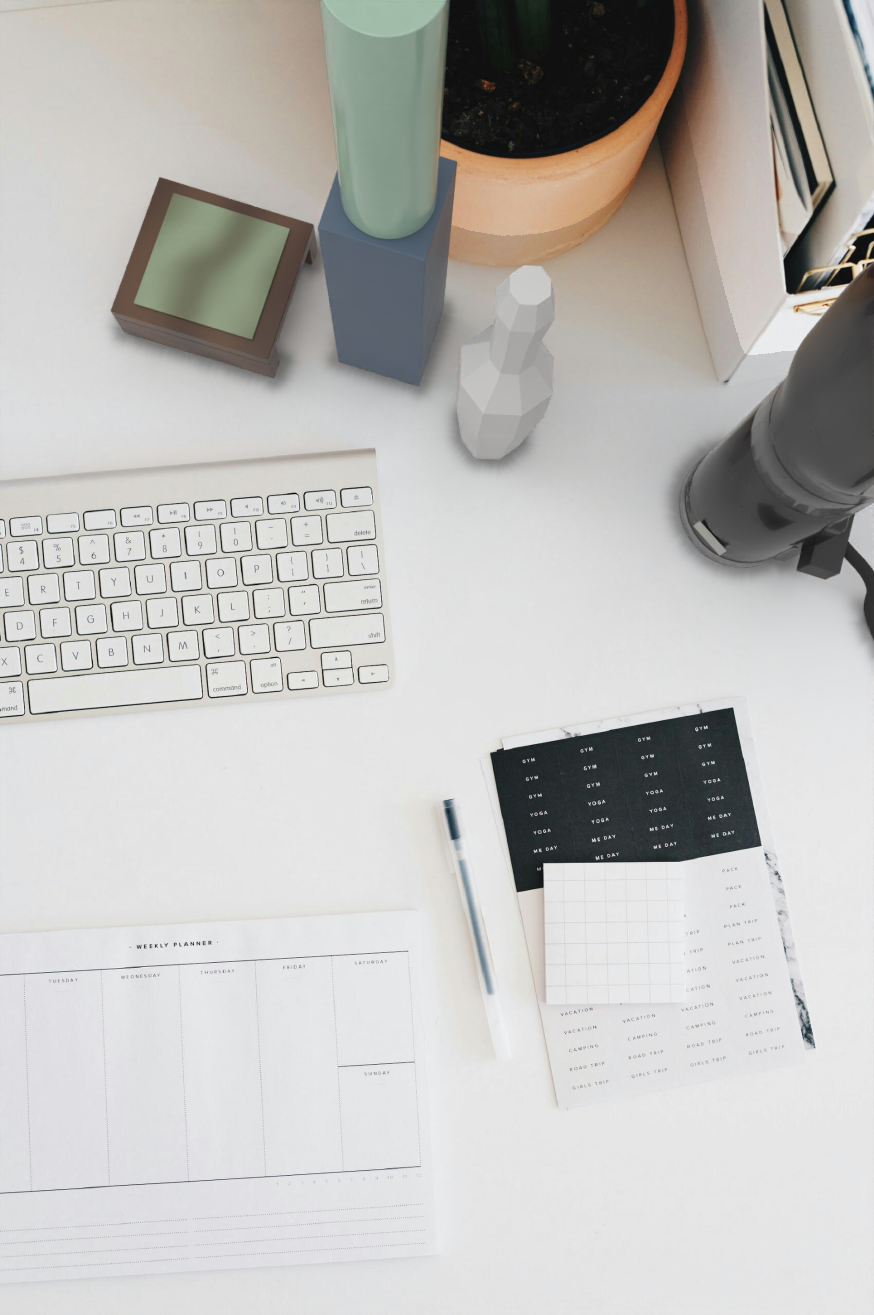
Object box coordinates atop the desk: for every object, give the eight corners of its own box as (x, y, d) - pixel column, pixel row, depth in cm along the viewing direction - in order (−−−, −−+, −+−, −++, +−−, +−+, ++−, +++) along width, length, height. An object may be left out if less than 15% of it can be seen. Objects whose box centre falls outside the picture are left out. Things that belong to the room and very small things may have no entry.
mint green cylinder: (449, 166, 54) (468, -62, 39) (419, 252, 53) (426, 54, 38) (358, 136, 54) (342, -104, 39) (327, 221, 53) (298, 11, 38)
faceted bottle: (541, 458, 71) (605, 324, 49) (462, 481, 70) (491, 355, 48) (517, 382, 71) (568, 215, 49) (438, 404, 71) (455, 245, 49)
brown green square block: (318, 249, 72) (313, 222, 68) (274, 378, 70) (267, 357, 67) (170, 203, 72) (158, 174, 68) (124, 332, 70) (109, 309, 67)
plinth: (443, 309, 72) (457, 160, 54) (419, 386, 71) (425, 260, 53) (363, 285, 71) (351, 127, 54) (338, 361, 71) (317, 227, 53)
